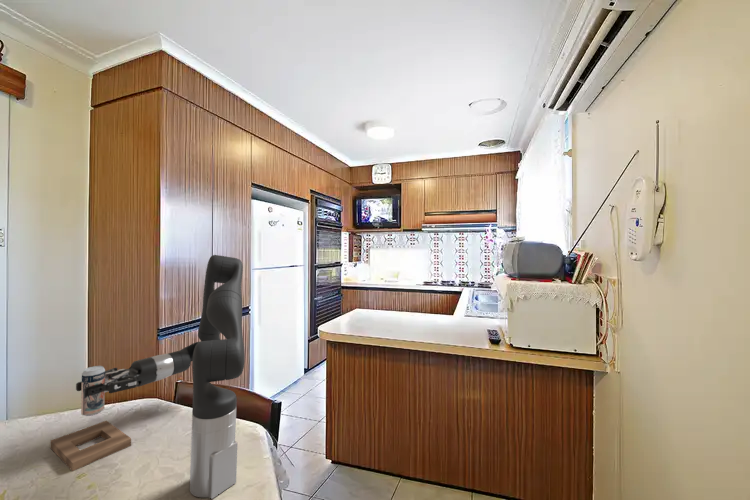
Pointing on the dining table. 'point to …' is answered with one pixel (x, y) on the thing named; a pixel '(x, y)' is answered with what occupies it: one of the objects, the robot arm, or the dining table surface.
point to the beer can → (96, 401)
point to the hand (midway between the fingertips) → (80, 389)
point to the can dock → (79, 458)
